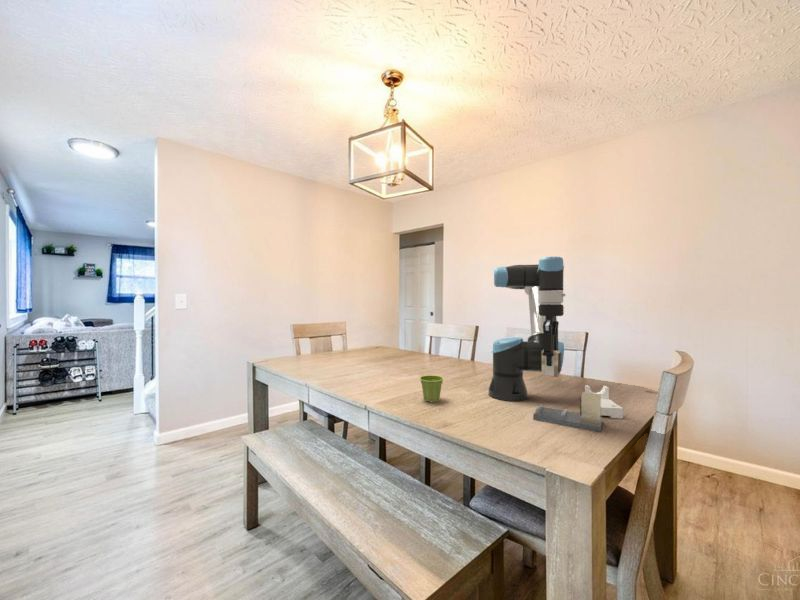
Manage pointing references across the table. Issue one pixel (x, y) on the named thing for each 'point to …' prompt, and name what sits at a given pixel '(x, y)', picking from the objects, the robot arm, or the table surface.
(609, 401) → the bracket
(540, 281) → the robot arm
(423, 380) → the plant pot
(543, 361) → the wooden block
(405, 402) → the table surface
